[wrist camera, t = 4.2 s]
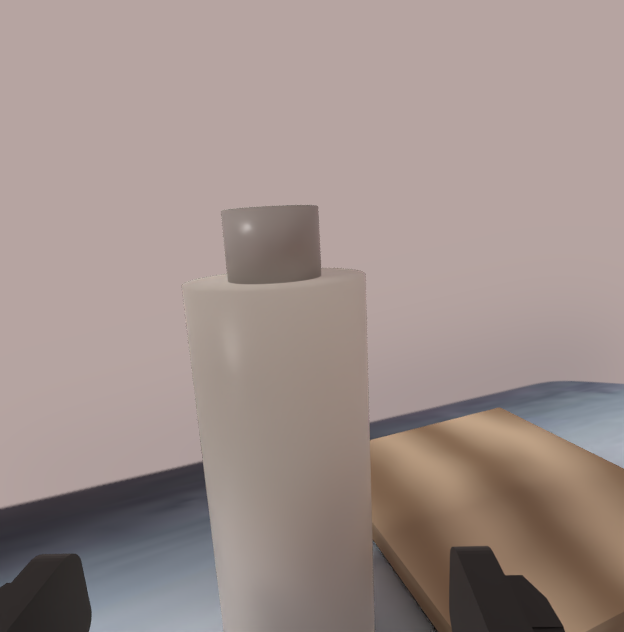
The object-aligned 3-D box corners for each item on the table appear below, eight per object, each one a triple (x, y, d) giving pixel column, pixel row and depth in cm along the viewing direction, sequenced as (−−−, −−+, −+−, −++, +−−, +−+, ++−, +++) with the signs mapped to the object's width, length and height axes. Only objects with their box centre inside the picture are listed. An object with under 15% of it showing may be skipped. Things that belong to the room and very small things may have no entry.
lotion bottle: (197, 701, 14) (126, 213, 10) (271, 575, 19) (239, 215, 15) (351, 772, 12) (326, 197, 8) (388, 609, 17) (381, 205, 13)
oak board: (490, 705, 13) (491, 681, 13) (321, 466, 27) (320, 452, 27) (759, 557, 18) (763, 537, 18) (499, 419, 32) (499, 407, 32)
